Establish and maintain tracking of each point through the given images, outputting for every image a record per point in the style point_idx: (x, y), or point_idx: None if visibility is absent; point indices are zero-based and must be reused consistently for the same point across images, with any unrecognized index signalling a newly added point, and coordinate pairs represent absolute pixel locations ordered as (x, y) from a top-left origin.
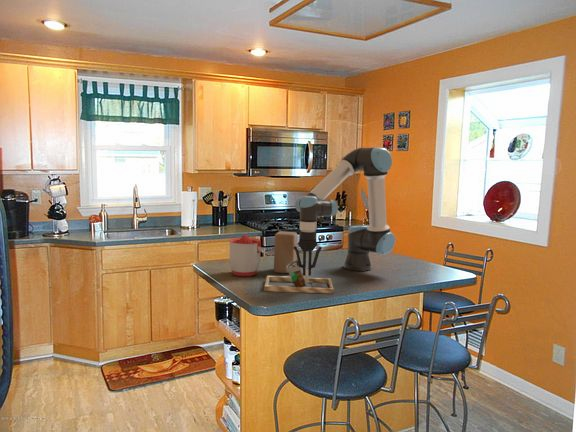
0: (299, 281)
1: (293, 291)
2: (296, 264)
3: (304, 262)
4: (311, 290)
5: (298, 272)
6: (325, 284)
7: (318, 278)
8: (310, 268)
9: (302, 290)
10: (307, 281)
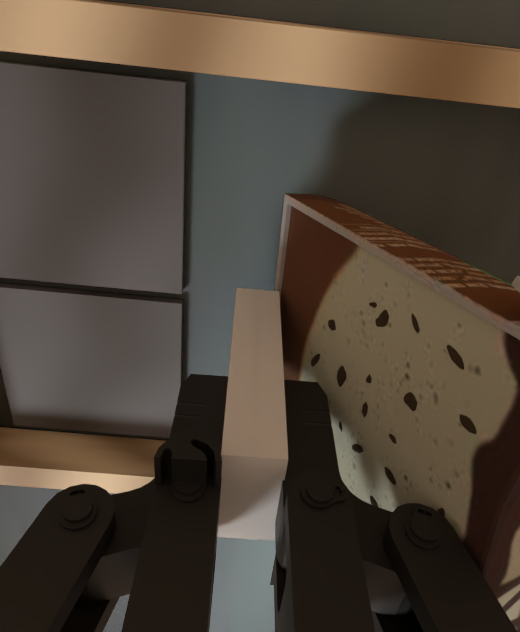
0: (399, 231)
1: (501, 47)
2: (497, 598)
3: (334, 626)
4: (206, 14)
5: (501, 289)
6: (19, 375)
7: (94, 482)
8: (174, 448)
9: (361, 32)
10: (246, 303)
